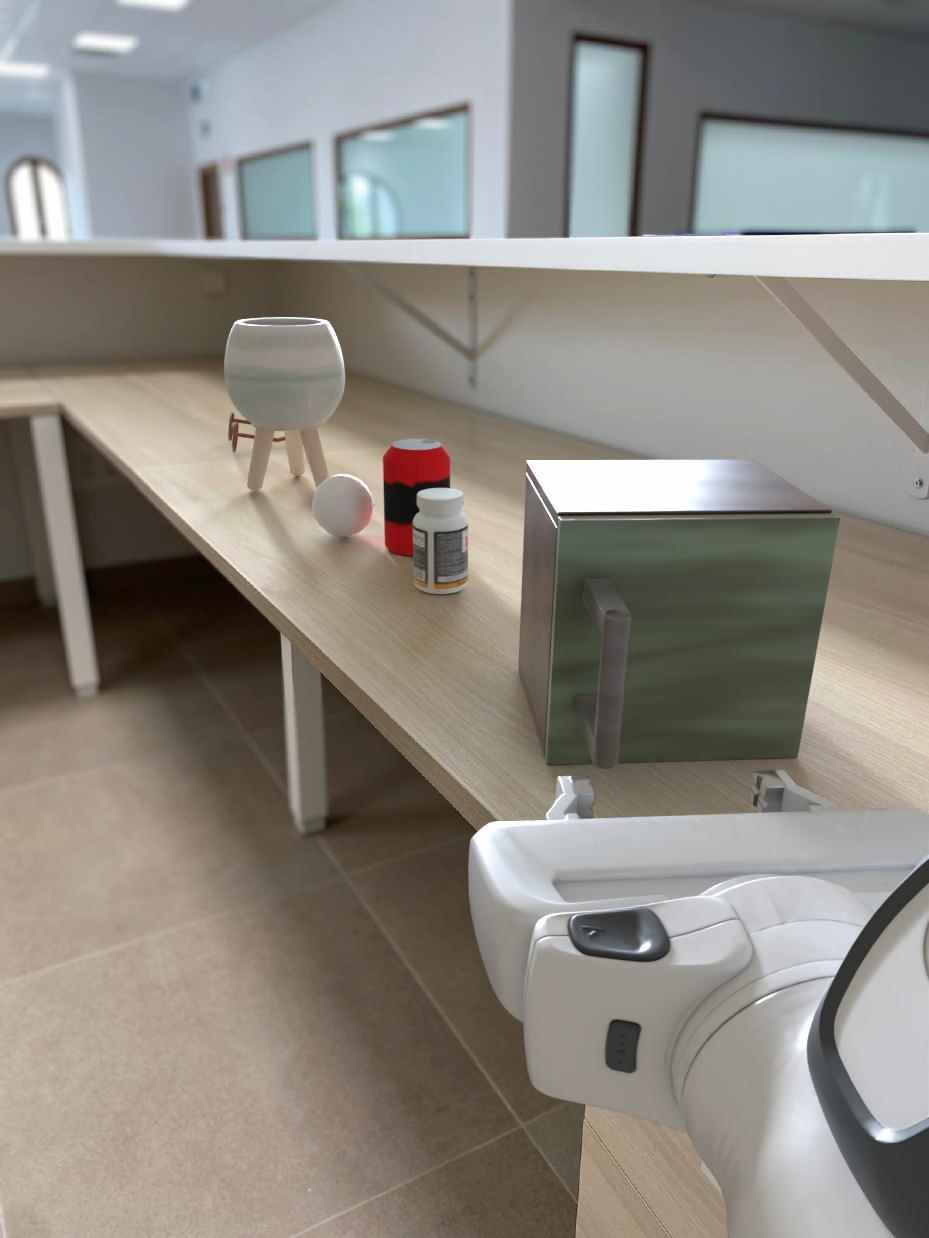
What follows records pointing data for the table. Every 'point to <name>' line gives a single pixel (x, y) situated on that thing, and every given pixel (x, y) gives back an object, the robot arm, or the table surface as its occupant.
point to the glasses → (234, 431)
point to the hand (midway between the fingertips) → (668, 784)
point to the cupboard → (623, 494)
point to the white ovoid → (343, 505)
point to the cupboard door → (684, 635)
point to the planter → (285, 387)
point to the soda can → (410, 486)
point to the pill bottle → (440, 542)
